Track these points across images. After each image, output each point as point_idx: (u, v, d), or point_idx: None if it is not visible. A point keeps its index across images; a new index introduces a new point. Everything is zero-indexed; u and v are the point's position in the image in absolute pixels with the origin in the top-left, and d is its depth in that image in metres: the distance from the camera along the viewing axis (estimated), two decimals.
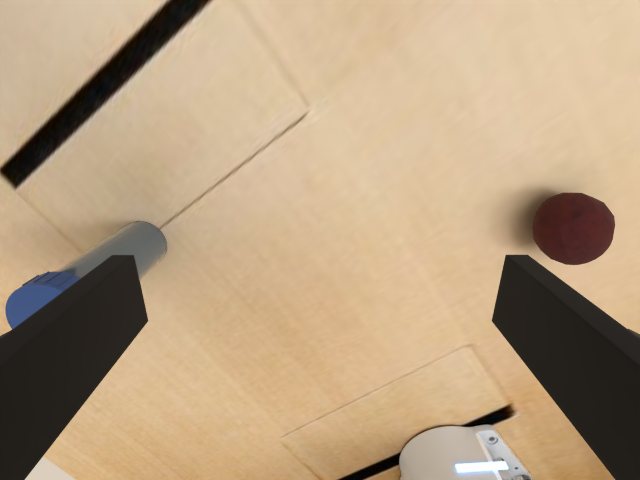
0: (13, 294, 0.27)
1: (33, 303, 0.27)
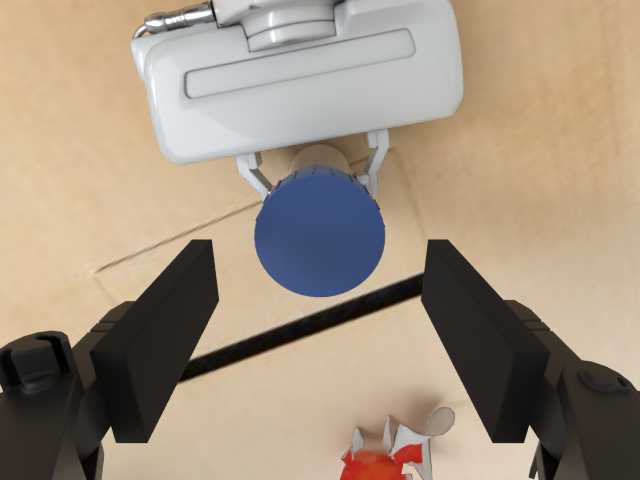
0: (346, 289, 0.18)
1: (325, 271, 0.18)
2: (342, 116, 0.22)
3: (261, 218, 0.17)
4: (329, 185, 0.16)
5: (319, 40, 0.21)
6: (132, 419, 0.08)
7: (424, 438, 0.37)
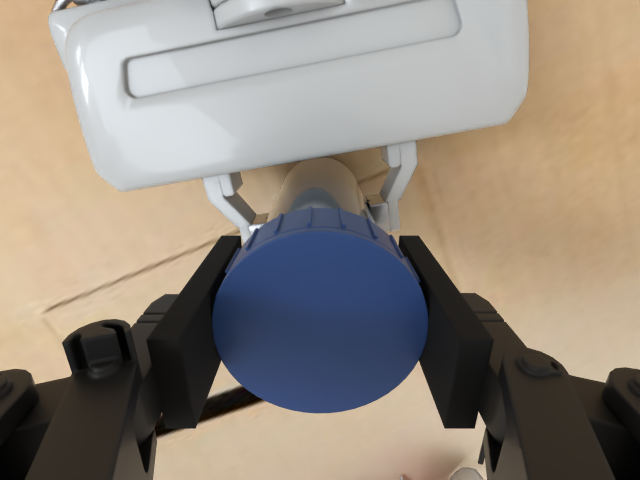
0: (362, 403, 0.11)
1: (329, 377, 0.11)
2: (352, 123, 0.16)
3: (222, 299, 0.10)
4: (336, 247, 0.09)
5: (319, 12, 0.14)
6: (182, 405, 0.09)
7: None
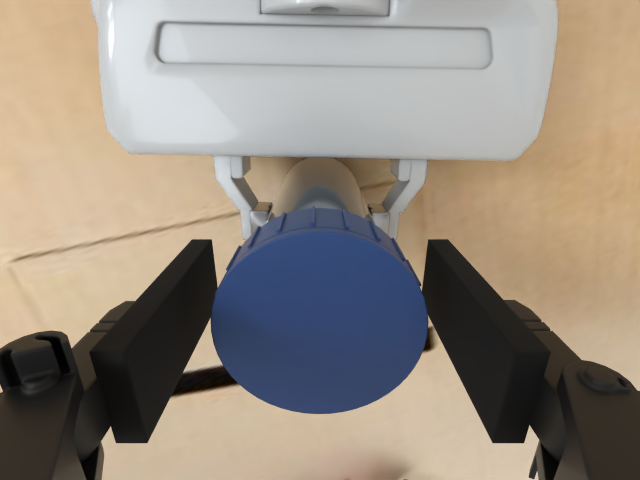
0: (421, 302, 0.10)
1: (377, 330, 0.10)
2: (372, 131, 0.16)
3: (274, 401, 0.11)
4: (226, 311, 0.10)
5: (363, 18, 0.14)
6: (132, 419, 0.08)
7: None
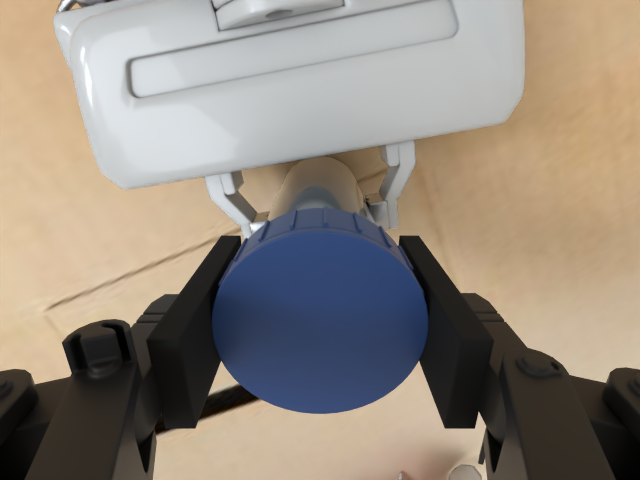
0: (414, 285, 0.10)
1: (376, 320, 0.10)
2: (351, 122, 0.16)
3: (291, 406, 0.11)
4: (225, 326, 0.10)
5: (319, 13, 0.14)
6: (182, 405, 0.09)
7: None
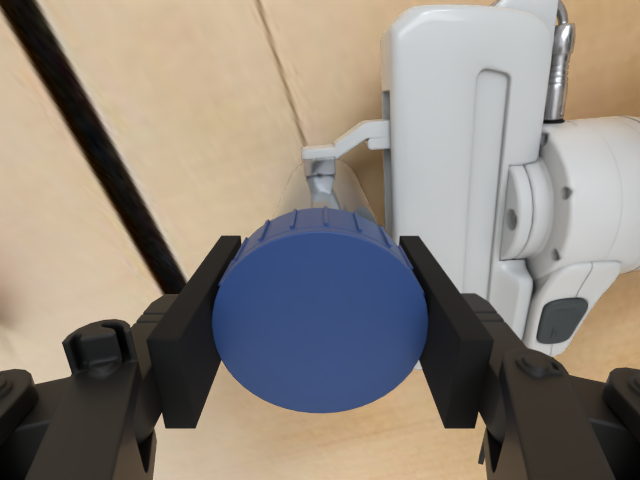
0: (414, 285, 0.10)
1: (376, 320, 0.10)
2: None
3: (291, 405, 0.11)
4: (225, 326, 0.10)
5: (499, 244, 0.19)
6: (182, 405, 0.09)
7: None
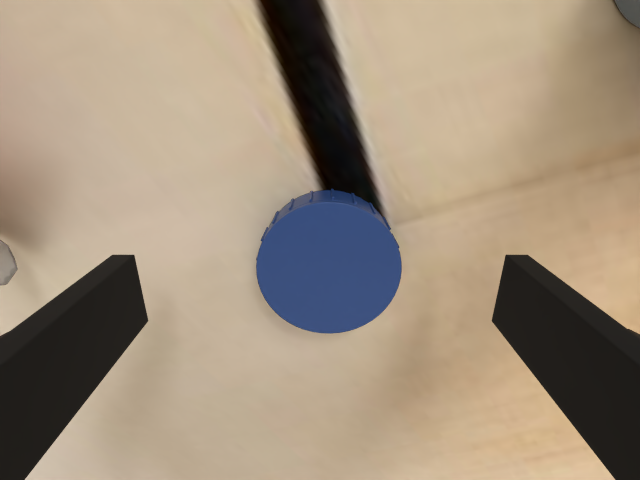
0: (390, 239, 0.15)
1: (366, 263, 0.15)
2: None
3: (308, 327, 0.16)
4: (265, 267, 0.15)
5: None
6: None
7: None
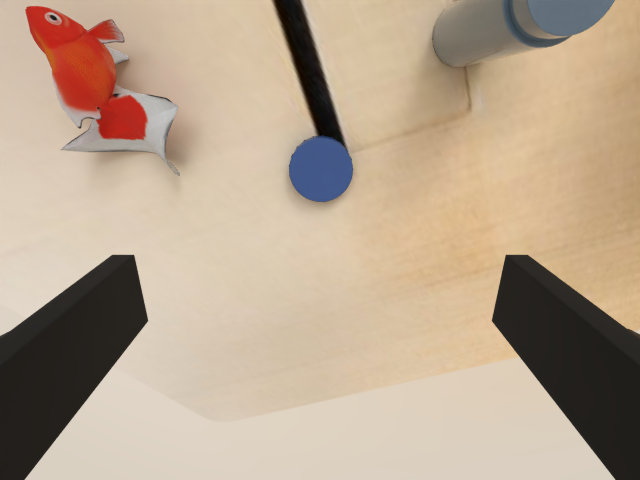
0: (347, 154, 0.35)
1: (337, 166, 0.35)
2: None
3: (312, 198, 0.36)
4: (293, 168, 0.35)
5: None
6: None
7: (158, 136, 0.31)
